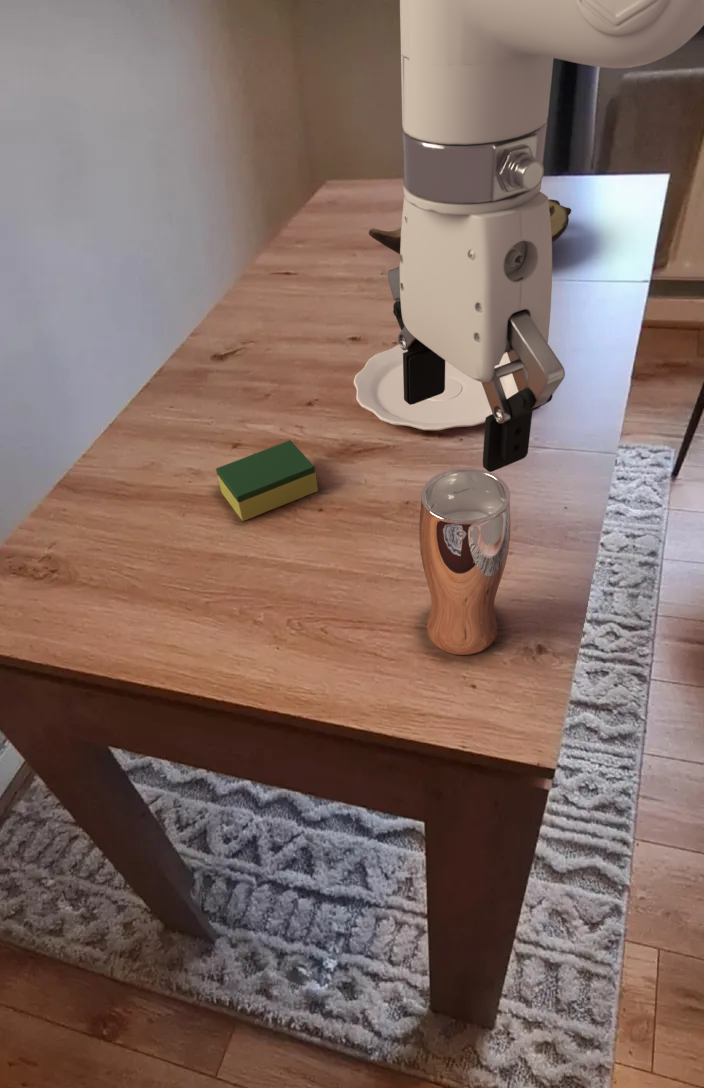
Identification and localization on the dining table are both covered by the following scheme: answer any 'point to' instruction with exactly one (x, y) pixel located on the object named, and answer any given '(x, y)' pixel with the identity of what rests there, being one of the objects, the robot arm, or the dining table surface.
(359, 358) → the dining table surface
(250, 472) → the sponge
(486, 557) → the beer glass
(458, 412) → the plate
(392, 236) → the broken bowl
